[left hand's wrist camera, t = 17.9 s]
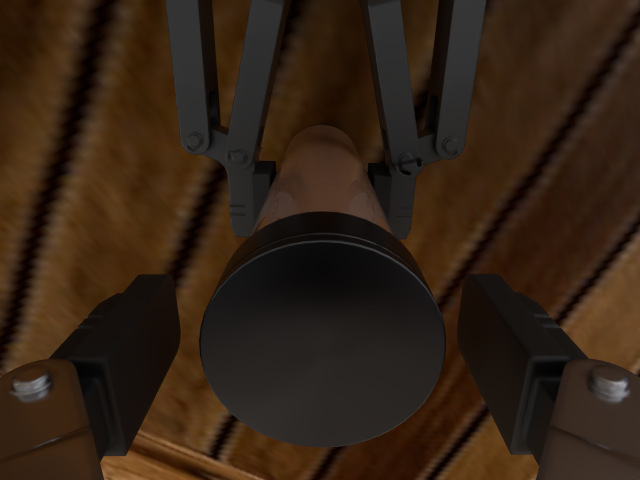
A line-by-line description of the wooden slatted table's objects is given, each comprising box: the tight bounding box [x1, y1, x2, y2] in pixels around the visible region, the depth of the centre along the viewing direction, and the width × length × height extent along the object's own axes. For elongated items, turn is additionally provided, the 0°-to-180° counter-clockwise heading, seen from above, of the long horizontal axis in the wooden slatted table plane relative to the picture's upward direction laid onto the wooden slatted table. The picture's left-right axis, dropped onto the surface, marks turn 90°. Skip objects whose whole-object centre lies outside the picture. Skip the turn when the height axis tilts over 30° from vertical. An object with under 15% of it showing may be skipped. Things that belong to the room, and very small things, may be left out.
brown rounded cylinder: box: [250, 125, 394, 236], centre depth 18 cm, size 4×4×18 cm
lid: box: [199, 211, 446, 447], centre depth 10 cm, size 5×5×2 cm
